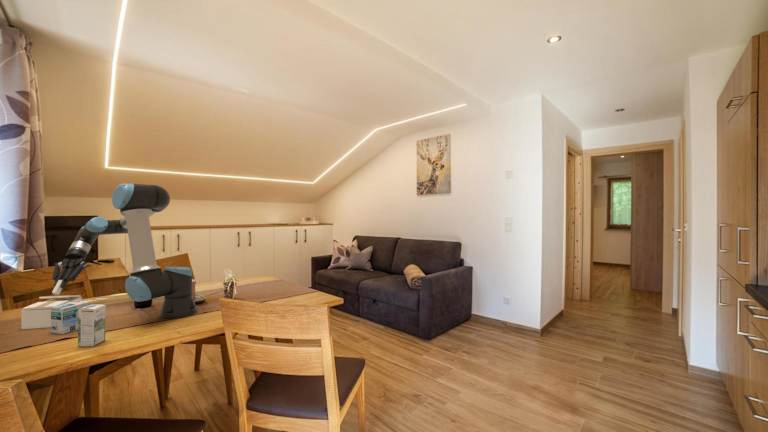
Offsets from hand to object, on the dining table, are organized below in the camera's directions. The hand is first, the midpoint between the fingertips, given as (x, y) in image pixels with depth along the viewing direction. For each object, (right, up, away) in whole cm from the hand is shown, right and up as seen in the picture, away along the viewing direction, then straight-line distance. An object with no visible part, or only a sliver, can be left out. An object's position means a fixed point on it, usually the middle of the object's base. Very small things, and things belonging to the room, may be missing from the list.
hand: (55, 293), depth 148 cm
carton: (0, -12, -1) cm, 12 cm away
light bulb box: (+17, -13, -10) cm, 23 cm away
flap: (-1, -3, +3) cm, 4 cm away
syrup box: (+38, -14, -23) cm, 47 cm away
